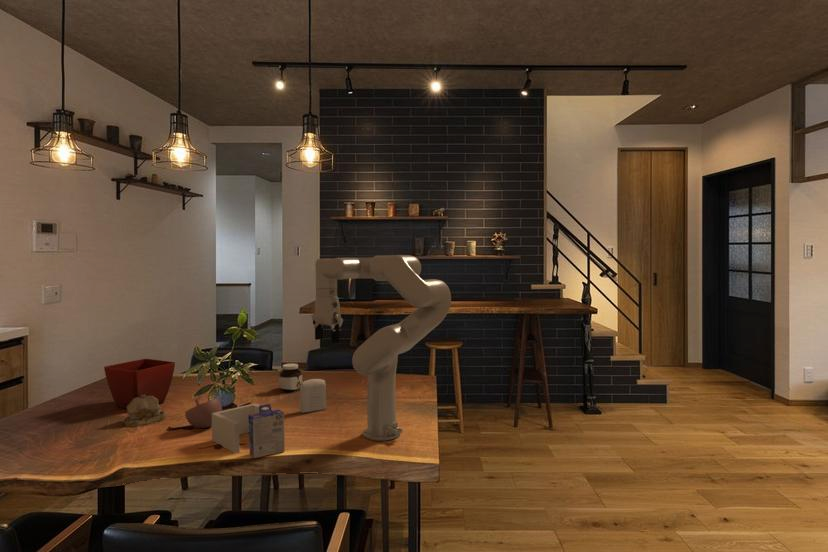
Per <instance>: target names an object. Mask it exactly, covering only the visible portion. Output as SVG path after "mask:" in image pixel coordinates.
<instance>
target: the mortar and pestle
mask: <svg viewBox="0 0 828 552" xmlns="http://www.w3.org/2000/svg"><path fill="white" fill-rule="evenodd" d="M201 398H202V394H199V395H198V396H197V397H196V398H195V399H194V401H195V404H196V405H195V406H193V407H191V408H189V409H188V410H186V411H185V412H184V413H185V414H184V415H185V418H186V420H187V422H188V423H189V425H191V426H193V427H194V428H197V429H206V428H210V427H212V413H215V412H220V411H223V405H222V402H221V400H220V399H219V398H218V397H215V398H212V399H209V400H207V401H205V402H202V403H201V402H200V400H201Z"/></svg>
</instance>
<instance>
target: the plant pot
mask: <svg viewBox="0 0 828 552" xmlns="http://www.w3.org/2000/svg"><path fill="white" fill-rule="evenodd" d="M175 366H176V362H175V361H167V360H160V359H153V358H151V359H150V358H141V359H136V360H131V361H126V362H121V363H117V364H112V365H111V364H110V365H105V366H104V367H103V371H104V374H105V379H106V382H107V385H108V387H109V391H110V394H111V396H112V398H113V401H114V402H115V405H116V407H119V408H124V409H127V408H126V406H127V405H128V404H129V403H130V402H131V401H132V400H133V399H134V398H138V397H141V395H144V394H145V397H146V396H154V397H155V398H157V399H158V404H159V403H160V404H163V403H164V402H165V400H166V399H167V395H168V392H169V390H170V387H171V383H172V381H173V377H174V372H175ZM160 404H159V405H160Z"/></svg>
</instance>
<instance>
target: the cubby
mask: <svg viewBox="0 0 828 552" xmlns="http://www.w3.org/2000/svg"><path fill="white" fill-rule="evenodd" d="M261 405H262V404H261ZM261 405H260V404H258V403H251V404H247V405H242V406H238V407H233V408H228V409H225V410H222V411H220V412H215V413H212V426H211V441H212V440H213V441H212V442H214V441H215V443H216V444H218V445H219V444H220V445H219V446H221V445H222V446H221V447H223V448H225V449H226V448H227V450H228V451H230V452H232V453H233V454H237V453H240V436H241V435H243V434H246V433H249V417H248V415H251V414H256V413H260V412H259V406H261ZM266 409H269V407H264V408H261V410H266Z"/></svg>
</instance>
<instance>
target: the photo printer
mask: <svg viewBox="0 0 828 552" xmlns="http://www.w3.org/2000/svg"><path fill="white" fill-rule="evenodd" d="M326 384H327V383H326V381H325V380H324V379H322V378H312V379H307V380H304V381H302V383H301V385H300V389H299V390H300V395H299V396H300V398H299V400H300V404H299V405H300V406H299V407H300V409H299V410H300V413H302V414H305V412H306V413H310V412H311V413H312V412H317V411H322V410H326V409H327V405H326V404H327V402H326V401H327V398H326V397H327V389H326V388H327V385H326Z"/></svg>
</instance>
